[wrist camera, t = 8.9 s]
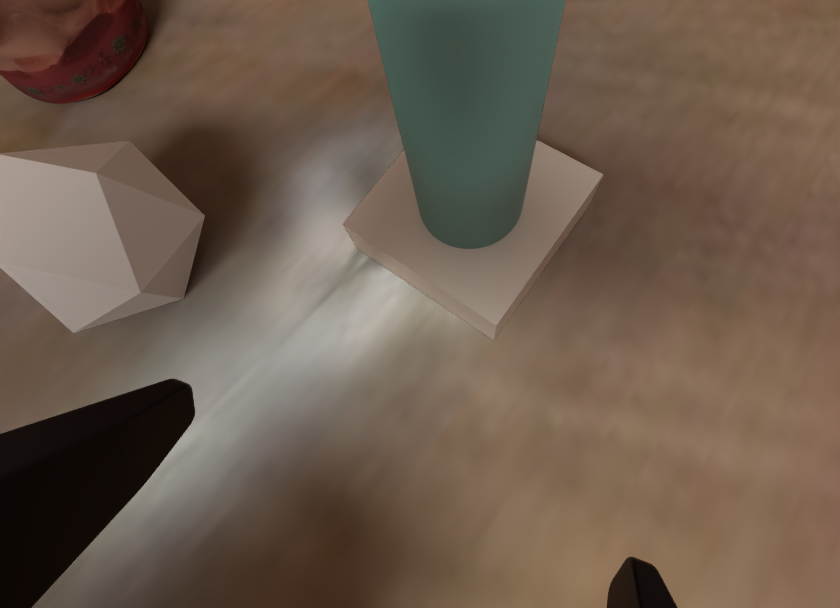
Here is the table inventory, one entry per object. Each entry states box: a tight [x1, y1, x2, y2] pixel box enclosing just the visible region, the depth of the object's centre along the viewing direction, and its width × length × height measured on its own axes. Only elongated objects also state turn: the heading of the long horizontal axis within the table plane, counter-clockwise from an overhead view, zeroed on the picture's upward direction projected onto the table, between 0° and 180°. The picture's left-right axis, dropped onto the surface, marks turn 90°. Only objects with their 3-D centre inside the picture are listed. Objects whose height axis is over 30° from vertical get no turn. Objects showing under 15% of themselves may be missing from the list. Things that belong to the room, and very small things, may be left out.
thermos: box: [368, 0, 565, 249], centre depth 16 cm, size 5×5×13 cm
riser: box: [343, 140, 603, 340], centre depth 24 cm, size 9×9×3 cm
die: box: [0, 141, 205, 333], centre depth 23 cm, size 8×9×10 cm
